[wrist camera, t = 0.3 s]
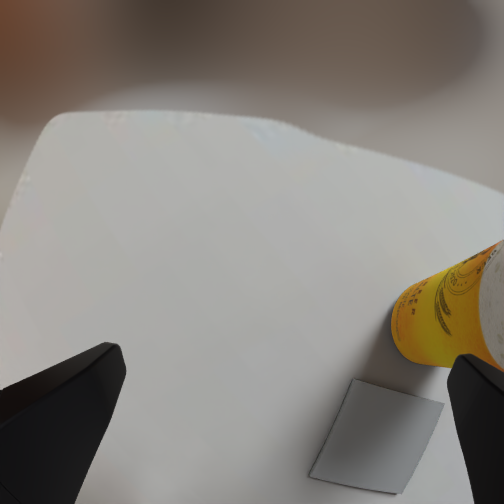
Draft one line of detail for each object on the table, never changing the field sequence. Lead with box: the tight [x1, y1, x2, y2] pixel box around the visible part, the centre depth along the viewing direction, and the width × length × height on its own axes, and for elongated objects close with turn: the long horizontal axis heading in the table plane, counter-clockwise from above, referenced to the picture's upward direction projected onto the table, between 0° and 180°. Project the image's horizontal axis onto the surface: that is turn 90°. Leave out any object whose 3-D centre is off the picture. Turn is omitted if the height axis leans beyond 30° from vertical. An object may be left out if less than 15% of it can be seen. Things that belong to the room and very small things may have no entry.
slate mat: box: [309, 379, 444, 494], centre depth 18 cm, size 8×8×1 cm
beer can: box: [391, 240, 504, 372], centre depth 13 cm, size 6×6×15 cm
